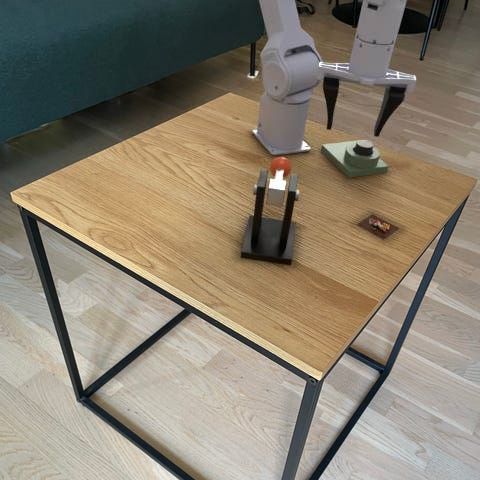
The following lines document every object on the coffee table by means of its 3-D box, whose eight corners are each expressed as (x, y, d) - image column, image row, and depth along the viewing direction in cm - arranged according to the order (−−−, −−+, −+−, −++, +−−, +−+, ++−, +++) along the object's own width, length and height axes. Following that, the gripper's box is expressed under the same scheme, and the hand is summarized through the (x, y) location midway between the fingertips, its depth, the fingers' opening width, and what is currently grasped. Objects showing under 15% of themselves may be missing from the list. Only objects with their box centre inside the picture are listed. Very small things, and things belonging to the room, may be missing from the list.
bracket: (248, 220, 74) (255, 160, 67) (295, 227, 74) (306, 167, 67) (240, 257, 68) (246, 194, 61) (291, 265, 68) (303, 202, 61)
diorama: (382, 235, 74) (386, 224, 73) (361, 224, 76) (365, 212, 74) (392, 228, 76) (396, 216, 74) (372, 217, 78) (375, 206, 76)
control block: (320, 150, 92) (323, 135, 90) (357, 146, 94) (361, 130, 92) (348, 177, 86) (352, 161, 84) (386, 172, 88) (391, 156, 86)
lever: (269, 171, 73) (272, 152, 72) (289, 174, 73) (293, 155, 71) (262, 206, 65) (265, 185, 63) (285, 209, 65) (288, 188, 63)
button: (350, 149, 87) (353, 140, 86) (365, 148, 88) (367, 138, 87) (359, 157, 86) (362, 148, 84) (374, 156, 86) (377, 146, 85)
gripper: (323, 39, 69) (306, 134, 78) (429, 54, 68) (398, 148, 77) (325, 25, 73) (309, 116, 83) (424, 38, 73) (396, 128, 82)
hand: (352, 130), depth 81 cm, fingers open, 7 cm apart
